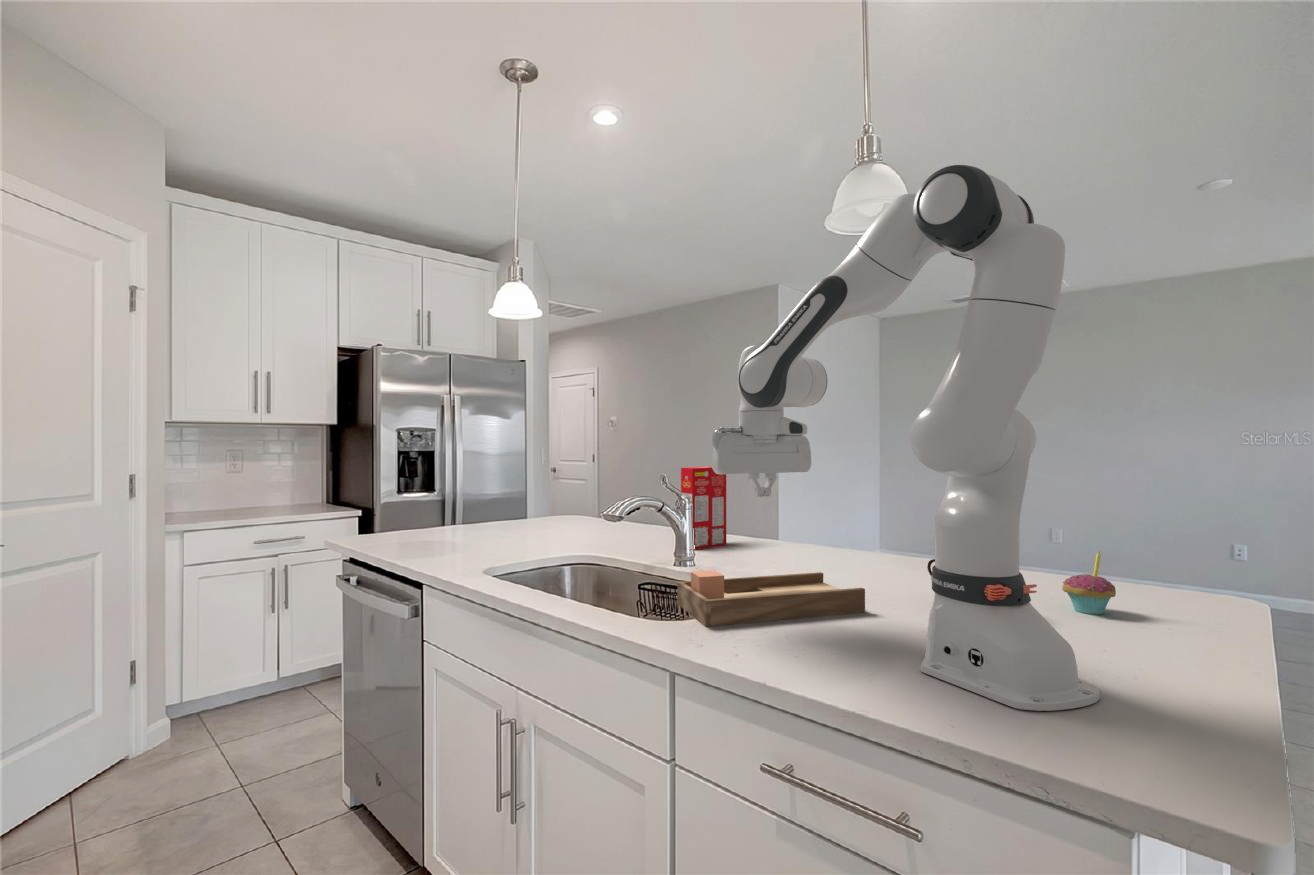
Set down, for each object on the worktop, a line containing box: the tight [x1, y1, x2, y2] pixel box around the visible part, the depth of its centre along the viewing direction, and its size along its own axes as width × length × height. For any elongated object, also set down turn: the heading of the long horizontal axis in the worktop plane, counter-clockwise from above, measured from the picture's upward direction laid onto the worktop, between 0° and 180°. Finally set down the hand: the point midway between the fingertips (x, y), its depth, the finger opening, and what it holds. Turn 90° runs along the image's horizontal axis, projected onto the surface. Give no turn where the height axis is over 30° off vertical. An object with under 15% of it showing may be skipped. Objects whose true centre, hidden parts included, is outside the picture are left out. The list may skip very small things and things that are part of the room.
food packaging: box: [680, 466, 727, 551], centre depth 197 cm, size 15×5×25 cm, turn 130°
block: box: [690, 569, 725, 599], centre depth 121 cm, size 5×5×5 cm
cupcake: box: [1061, 549, 1117, 616], centre depth 121 cm, size 9×8×12 cm
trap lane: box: [676, 571, 866, 627], centre depth 124 cm, size 16×33×4 cm, turn 106°
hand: (762, 496), depth 123 cm, fingers closed
